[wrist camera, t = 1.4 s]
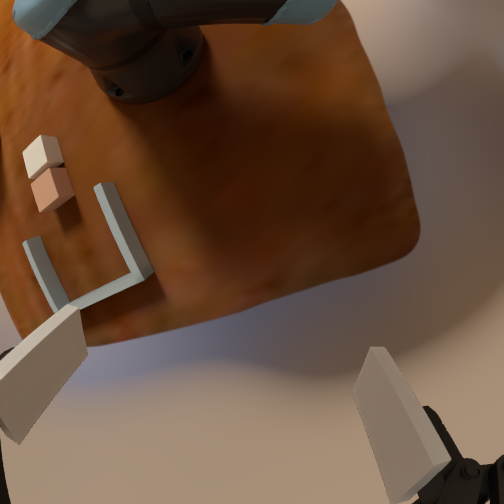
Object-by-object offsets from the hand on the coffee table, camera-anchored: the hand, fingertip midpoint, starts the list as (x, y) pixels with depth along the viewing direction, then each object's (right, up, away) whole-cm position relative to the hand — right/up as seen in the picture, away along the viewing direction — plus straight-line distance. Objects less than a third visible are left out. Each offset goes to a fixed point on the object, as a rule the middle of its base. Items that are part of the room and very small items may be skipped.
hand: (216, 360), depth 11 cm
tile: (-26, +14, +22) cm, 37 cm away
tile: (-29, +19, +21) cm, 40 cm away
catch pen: (-22, +4, +24) cm, 33 cm away
